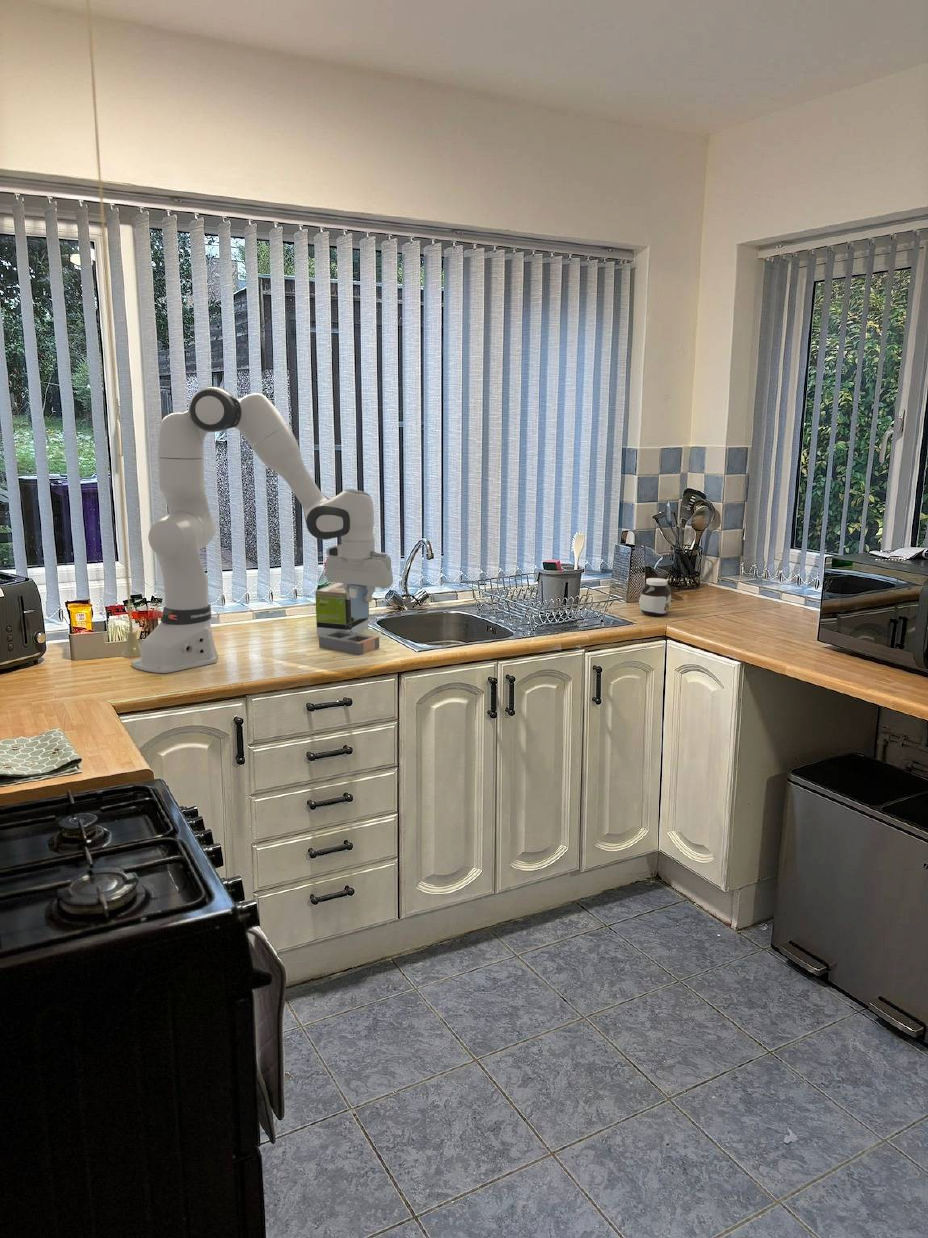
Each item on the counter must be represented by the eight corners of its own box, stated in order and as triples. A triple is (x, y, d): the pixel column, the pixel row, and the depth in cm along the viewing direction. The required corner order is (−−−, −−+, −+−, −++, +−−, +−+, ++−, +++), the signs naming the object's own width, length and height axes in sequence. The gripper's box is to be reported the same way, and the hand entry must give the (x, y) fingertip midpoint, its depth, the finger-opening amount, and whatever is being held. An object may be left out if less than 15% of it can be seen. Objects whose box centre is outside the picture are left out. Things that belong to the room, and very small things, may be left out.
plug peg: (356, 619, 251) (355, 586, 249) (348, 617, 254) (347, 585, 252) (369, 617, 254) (368, 584, 252) (361, 615, 257) (360, 583, 255)
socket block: (358, 658, 251) (358, 643, 250) (319, 650, 258) (318, 635, 257) (379, 651, 258) (379, 636, 258) (340, 643, 266) (339, 629, 265)
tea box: (339, 627, 284) (338, 580, 281) (369, 631, 281) (368, 582, 278) (315, 639, 271) (314, 589, 267) (346, 642, 267) (346, 592, 264)
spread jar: (655, 618, 303) (657, 583, 300) (627, 612, 311) (629, 578, 308) (676, 613, 311) (679, 579, 308) (649, 607, 319) (651, 574, 316)
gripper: (397, 551, 248) (398, 602, 251) (335, 545, 258) (336, 594, 261) (383, 555, 242) (384, 607, 246) (321, 548, 252) (322, 599, 255)
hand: (359, 600), depth 253 cm, fingers closed on plug peg, 4 cm apart
